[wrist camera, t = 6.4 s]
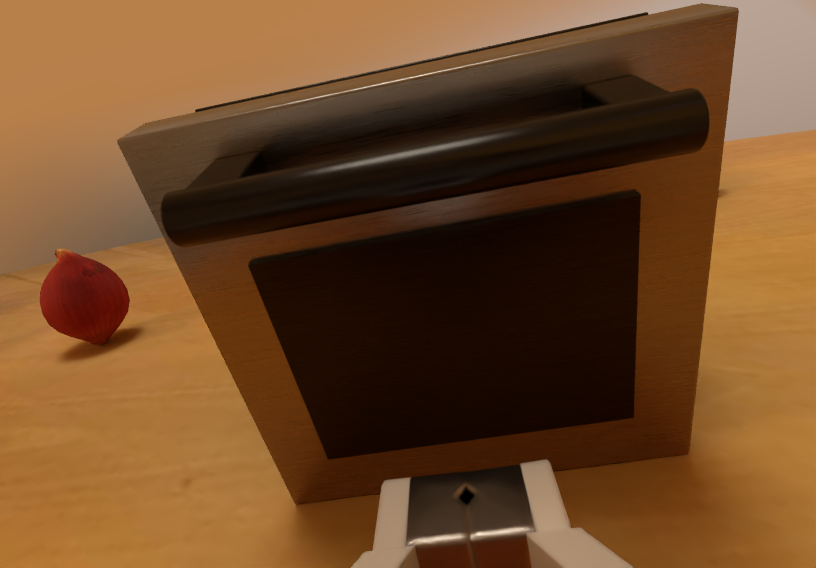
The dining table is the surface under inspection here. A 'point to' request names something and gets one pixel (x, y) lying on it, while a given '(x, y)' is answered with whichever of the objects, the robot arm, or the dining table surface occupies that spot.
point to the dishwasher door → (460, 252)
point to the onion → (83, 298)
